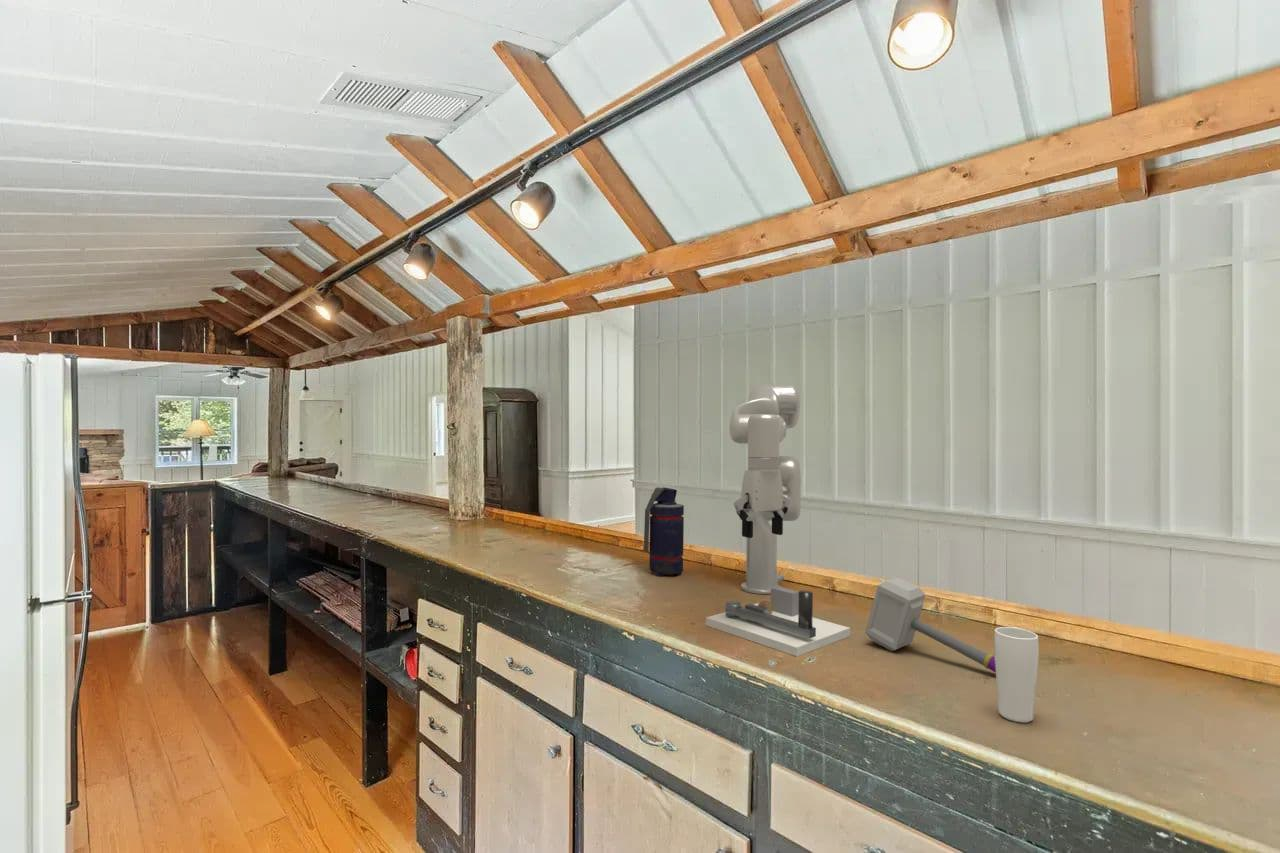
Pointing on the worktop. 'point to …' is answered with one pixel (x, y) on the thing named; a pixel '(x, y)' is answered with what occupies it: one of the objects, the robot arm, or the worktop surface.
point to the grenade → (664, 532)
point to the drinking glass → (1016, 672)
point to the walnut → (766, 606)
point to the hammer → (910, 621)
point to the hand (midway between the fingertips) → (762, 535)
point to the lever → (764, 617)
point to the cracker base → (776, 638)
